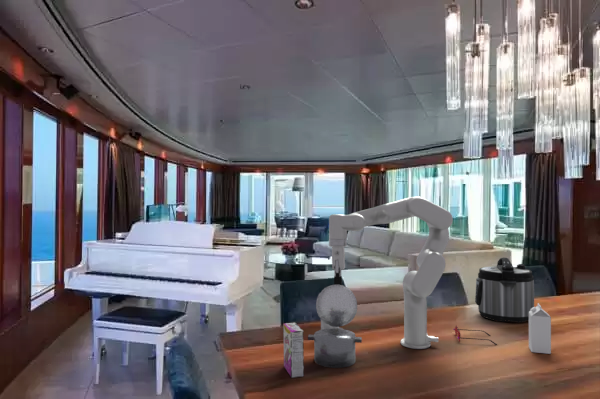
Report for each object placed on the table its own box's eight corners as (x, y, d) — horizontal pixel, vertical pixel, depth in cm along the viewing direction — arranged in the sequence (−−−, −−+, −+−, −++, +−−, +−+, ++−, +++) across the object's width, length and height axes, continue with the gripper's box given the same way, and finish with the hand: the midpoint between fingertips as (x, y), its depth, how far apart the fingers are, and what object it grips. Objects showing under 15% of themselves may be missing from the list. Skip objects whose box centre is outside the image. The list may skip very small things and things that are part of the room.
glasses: (453, 334, 206) (453, 323, 206) (490, 336, 203) (490, 325, 203) (457, 343, 193) (457, 332, 193) (498, 346, 189) (498, 334, 189)
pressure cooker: (494, 308, 255) (494, 253, 255) (545, 318, 233) (545, 258, 233) (464, 316, 237) (464, 257, 237) (516, 328, 215) (516, 263, 215)
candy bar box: (282, 366, 165) (282, 323, 165) (295, 365, 166) (295, 322, 167) (290, 378, 154) (290, 331, 154) (304, 376, 156) (304, 330, 156)
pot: (362, 353, 179) (362, 328, 179) (361, 369, 162) (361, 342, 162) (311, 350, 183) (311, 326, 183) (305, 366, 166) (305, 339, 166)
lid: (357, 327, 179) (357, 327, 181) (357, 285, 182) (357, 285, 184) (315, 325, 181) (316, 325, 183) (316, 283, 184) (317, 283, 186)
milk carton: (547, 348, 185) (547, 303, 185) (551, 354, 178) (550, 307, 178) (528, 347, 187) (528, 302, 187) (531, 352, 180) (531, 306, 180)
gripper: (345, 244, 182) (345, 289, 182) (347, 241, 196) (347, 282, 196) (327, 244, 183) (327, 288, 183) (330, 241, 198) (330, 282, 198)
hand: (337, 285), depth 190 cm, fingers closed
